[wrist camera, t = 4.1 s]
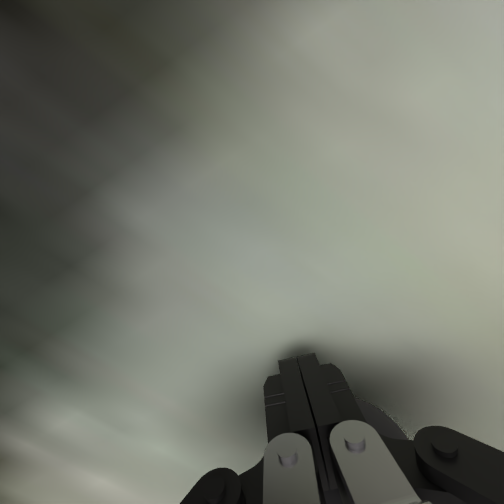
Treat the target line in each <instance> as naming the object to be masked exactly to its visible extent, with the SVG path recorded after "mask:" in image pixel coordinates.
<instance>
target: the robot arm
mask: <svg viewBox="0 0 504 504" xmlns="http://www.w3.org/2000/svg"><path fill="white" fill-rule="evenodd" d="M297 360H298V364H297V361H296V357H293V358H289V359H284V360H279V361H278V363H279V369H280V374H278V375H273V376H268V378H267V380H266V382H265V384H264V397H265V411H266V423H267V436H268V445H267V447H266V449H265V452H264V457H263V458H262V459H261V461H260V462H259V463H258V464H257V465H255V466H254V467H253V468H251V469H249V470H248V471H246V472H244V473H242V474H240V475H239V476H238V475H237V474H236V473H235V472H234V471H233V470H231V469H228V468H217V469H214V470H211V471H209V472H208V473H206V474H205V475H204V476H203V477H201V478H200V480H199V481H198V482H197V483H196V484H195V486H194V487H193V488H192V489H191V490H190V492H189V493H188V494H187V495H186V497H185V498H184V499H183V500H182V502H181V503H180V504H326V501H325V497H324V492H323V491H328V490H329V488H328V484H327V479H326V475H325V470H326V473H327V477H328V481H329V484H330V488H331V490H332V489H337V488H338V490H339V493H340V496H341V500H342V503H343V504H504V452H502V451H500V450H497V449H495V448H493V447H491V446H488V445H486V444H484V443H482V442H479V441H477V440H475V439H473V438H470V437H468V436H466V435H464V434H461V433H459V432H457V431H455V430H452V429H450V428H446V427H441V426H429V427H425V428H423V429H421V430H419V431H418V432H417V433H416V435H415V437H414V441H413V440H402V439H393V438H389V437H386V436H383V435H381V434H379V433H378V432H377V431H376V430H375V429H374V428H373V427H372V426H370V425H369V424H368V423H367V422H366V420H365V418H364V416H363V414H362V412H361V410H360V408H359V406H358V404H357V402H356V400H355V398H354V396H353V394H352V392H351V390H350V389H349V386H348V384H347V382H346V381H345V378H344V376H343V374H342V372H341V371H340V370H339V369H338V368H337V367H335V366H334V365H333V364H331V363H329V364H324V365H319V363H318V360H317V358H316V355H315V353H312V354H307V355H302V356H298V357H297ZM298 365H299V368H298ZM299 370H300V371H299ZM300 374H301V375H300ZM321 455H322V456H321ZM322 459H323V461H322ZM323 463H324V465H323ZM324 466H325V470H324Z"/></svg>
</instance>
